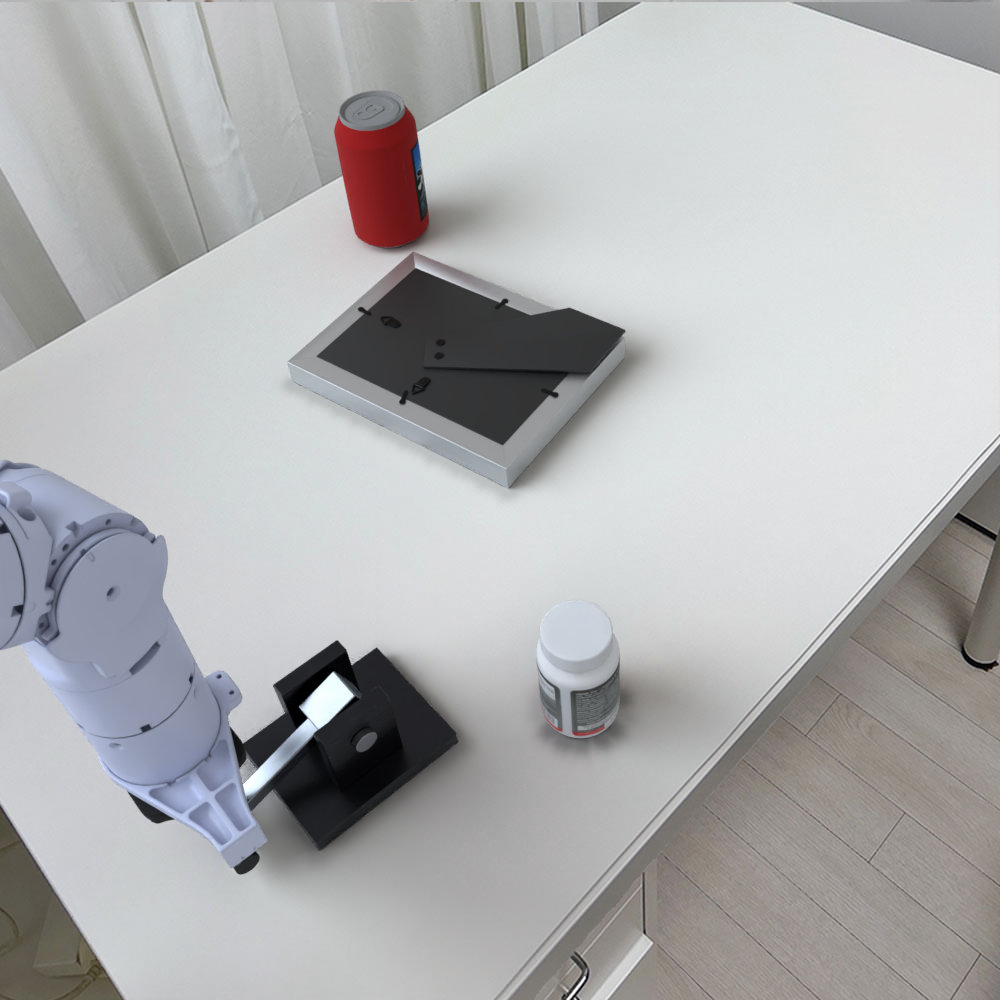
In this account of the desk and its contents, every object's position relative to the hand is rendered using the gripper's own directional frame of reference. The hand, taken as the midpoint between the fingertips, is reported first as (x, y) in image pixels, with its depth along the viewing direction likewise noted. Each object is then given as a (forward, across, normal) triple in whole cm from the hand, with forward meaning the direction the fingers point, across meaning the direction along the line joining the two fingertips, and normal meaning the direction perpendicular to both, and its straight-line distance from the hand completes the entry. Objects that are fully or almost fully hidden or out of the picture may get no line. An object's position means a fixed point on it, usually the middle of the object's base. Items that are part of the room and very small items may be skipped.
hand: (212, 811), depth 60 cm
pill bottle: (+4, -7, -20) cm, 22 cm away
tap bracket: (+4, 0, -8) cm, 9 cm away
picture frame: (+4, +21, -34) cm, 40 cm away
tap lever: (+1, 0, -5) cm, 5 cm away
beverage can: (+4, +39, -40) cm, 56 cm away
